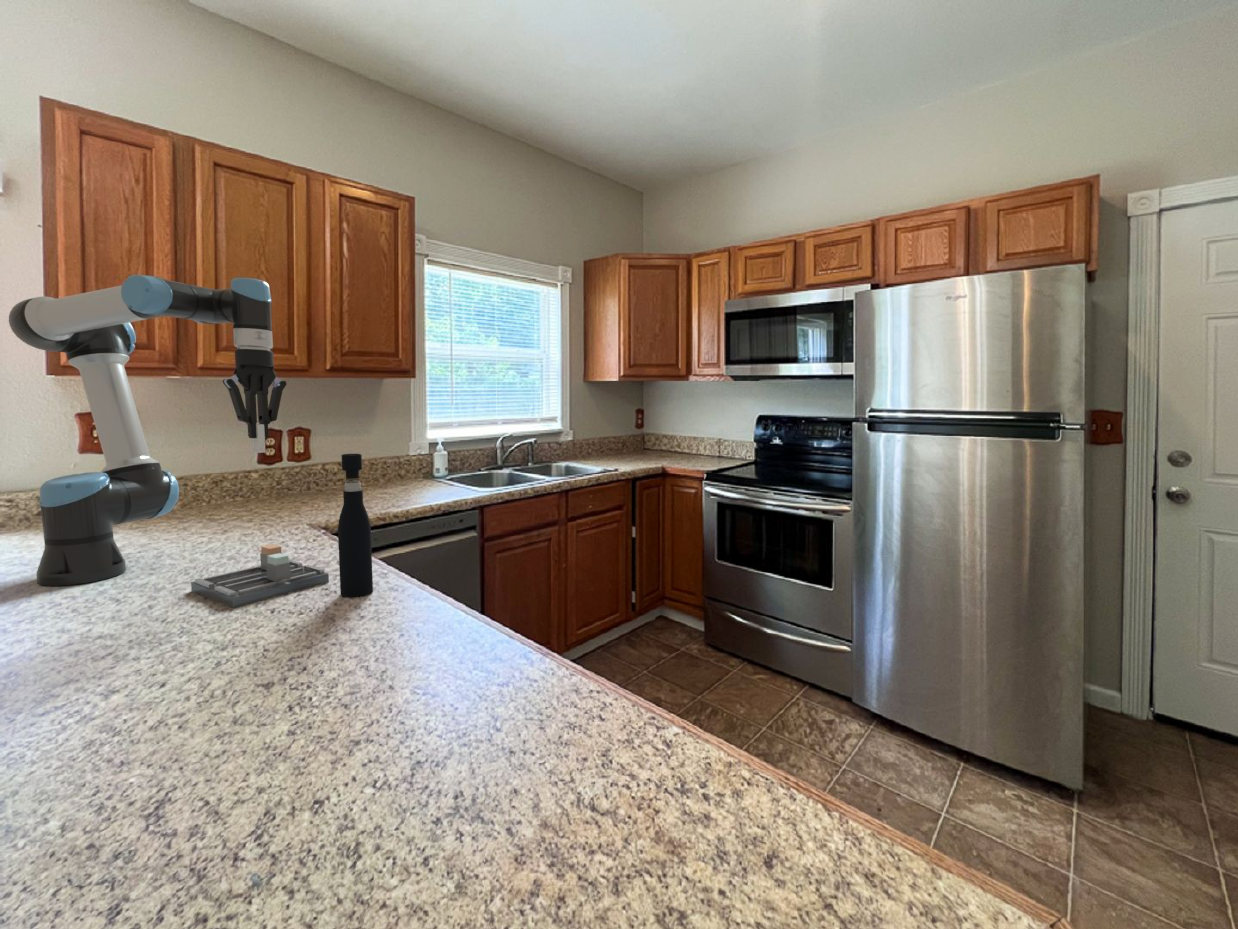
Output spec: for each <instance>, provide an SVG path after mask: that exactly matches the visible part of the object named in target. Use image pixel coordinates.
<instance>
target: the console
mask: <svg viewBox="0 0 1238 929" xmlns="http://www.w3.org/2000/svg"><path fill="white" fill-rule="evenodd" d="M288 559H289V562H290V570H291V578H287V579H286V578H284V579H281V580H279V581H272V580H269V579H267V570H264V569H261V564H260V565H257V566H253V567H248V568H244V569H239V570H235V571H230V572H226V573H223V574H222V573H221V574H217V575H214V576H212V575H211V576H208V577H204V579H203V578H200V577H199V578H196V579H194V581H192V582H190V590H191V592H193V593H195V594H197V595H201V596H202V597H204V598H207V599H210V600H212V601H215V602H217V603H220V604H221V605H224V606H228V607H229V608H232V609H235V608H238V607H241V606H246V605H249V604H253V603H257V602H260V601H264V600H267V599H271V598H275V597H278V596H283V595H286V594H290V593H293V592H297V591H300V590H301V591H302V590H305V589H309V588H312V587H315V586H320V585H323V584H327V583H329V582H330V578H329V576H330V574H329V573H328V572H325V569H324V568H320V567H317V566H314V565H310V564H307V565H303V562H299V561H296V560H293V559H290V558H288Z"/></svg>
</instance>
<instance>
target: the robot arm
mask: <svg viewBox="0 0 1238 929" xmlns="http://www.w3.org/2000/svg"><path fill="white" fill-rule="evenodd" d="M162 317H169V318H177V319H178V318H179V319H184V320H190V321H194V322H195V323H199V324H209V325H215V324H232V329H233V346H234V347H236V348H237V349H235V350H234V365H235V370H234V372H233V375H232V376H231V377H229V378H224V379H223V380H222V384H224V386H225V387H226V389H227V390H228V392H229V397H230V400H231V402H232V405H233V408H234V412H235V415H236V418H237V420H238V421H239V422H242V423H245V424H246V425H247V436H248V438H249V439H252V440H251V441H252V452H253V453H258V454H259V453H260V454H261V453H266V438H267V439H268V437H269V424H271V422H276V421H277V419H278V414H279V409H280V404H281V400H282V396H283V391H284V389H285V388H286V386H287V381H286V380H281V379H280V378H279V377H277V374H276V372H275V369H274V368H275V366H274V365H275V361H274V352H273V351H272V350H271V349H273V348H274V343H273V342H274V340H273V327H272V326H273V324H272V322H273V320H272V297H271V290H270V285H269V284H268V283H267V282H266V281H264V280H261V279H257V278H250V277H249V278H248V277H234V278H232V279H231V281H230V288H227V289H224V288H223V289H220V288H219V289H217V288H216V289H215V288H209V287H204V286H200V285H199V286H198V285H193V284H188V283H184V282H179V281H174V280H169V279H165V278H162V277H160V278H159V277H158V276H153V275H145V274H144V275H143V274H132V275H129V276H128V277H127V278H126V280H124V281H123V282H122V285H117V286H112V287H108V288H102V289H97V290H92V291H88V292H83V293H78V294H77V293H76V294H73V295H67V296H63V297H58V298H54V297H51V296H35V297H32V298H27V299H24V300H21V301H19V302H17V303H16V304H15V305H14V306H13V307H12V308H11V310H10V311H9V315H8V324H9V328H10V329H11V331H12V333H13V334H14V335H15V336H16V337H17V338H18V339H19V340H21V341H22V342H23V343H25V344H26V345H27V346H30V347H33V348H36V349H37V350H40V351H41V350H42V351H47V352H54V353H55V352H56V353H65V356H66V360H67V363H68V364H69V365H70V366H72V367H74V368H75V369H77V370H78V371H79V374H80V378H81V382H82V384H83V387H84V388H83V389H84V392H85V394H86V398H87V402H88V405H89V409H90V412H91V416H92V418H93V423H94V425H95V429H96V433H97V436H98V440H99V444H100V446H101V450H102V453H103V457H104V460H105V466H104V468H102V470H101V471H99V472H97V471H92V472H84V473H74V474H67V475H62V476H59V477H58V476H57V477H54V478H50V479H48V480H46V481H45V482H43V483H42V484H41V486H40V487H39V501H38V504H39V506H40V513H41V522H42V531H43V532H42V533H43V539H44V540H43V542H44V550H43V553H42V555H41V558H40V560H39V561H40V562H39V564H38V567H37V570H36V574H35V575H36V583H37V584H38V585H40V586H45V587H46V586H47V587H49V586H51V587H57V586H58V587H59V586H60V587H61V586H72V585H81V584H89V583H93V582H98V581H103V580H106V579H110V578H114V577H117V576H119V575H121V574H123V573H125V572H126V571H127V565H126V560H125V558H124V556H123V554H122V552H121V551H120V549H119V547H118V545H117V543H116V541H115V539H114V526H116V525H122V524H126V523H131V522H137V521H143V520H151V519H155V518H157V517H161V516H165V515H167V514H168V513H170V512H171V511H172V510H173V509H174V507H175V506H176V503H177V502H178V500H179V495H180V487H179V483H178V480H177V479H176V476H174V475H172V473H171V472H169V471H167V470H163V469H162V467H161V463H160V461H158V460H157V459H155V458H152V457H151V455H150V452H149V448H148V443H147V442H146V437H145V434H144V430H143V427H142V424H141V421H140V420H141V419H140V417H139V413H138V410H137V406H136V403H135V400H134V396H133V392H132V390H131V385H130V381H129V378H128V375H127V372H126V371H127V370H126V368H125V365H126V364H127V363H128V362H129V360H130V355H131V353H132V352H134V350H135V348H136V345H135V344H136V342H137V337H136V331H135V329H134V327H133V325H132V324H131V323H134V322H139V321H145V320H151V319H156V318H162ZM239 384H240V385H241V387H242V388H243V393H244V398H245V399H244V400H243V398H242V394H241V391H240V388H239ZM271 385H272V386H273V387H272V389H271V394H270V399H269V398H268V397H269V396H268V395H269V392H270V391H269V388H270V386H271ZM244 402H245V403H244ZM257 422H258V423H257Z"/></svg>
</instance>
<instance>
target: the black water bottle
mask: <svg viewBox="0 0 1238 929" xmlns="http://www.w3.org/2000/svg"><path fill="white" fill-rule="evenodd" d="M362 456H363V455H362V453H343V454H341V456H340V457H341V470H342V471H344V472H345V480H346V481H345V482H344V484H343V486H344V488H343V489H344V490H343V491H342V492H343V493H342V494H343V506H342V508H341V511H340V515H339V519H338V525H337V535H338V536H337V541H338V542H337V543H338V561H339V562H338V564H339V566H338V567H339V587H340V589H339V590H340V596H341V597H343V598H346V599H356V598H362V597H366V596H367V597H368V596H369V595H371V594H372V593H373V592H374V583H373V581H374V579H373V554H372V552H373V551H372V527H371V523H370V518H369V514H368V512H367V510H366V506H365V504H364V494H363V493H364V492H363V490H362V483H361V481H359V480H360V474H359V473H360V472H359V471H361V470H363V461H362V460H363V458H362Z"/></svg>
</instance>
